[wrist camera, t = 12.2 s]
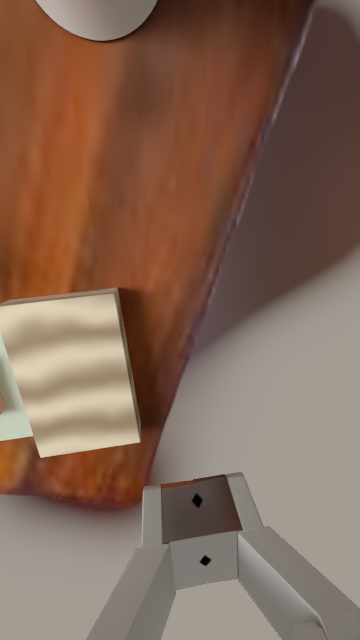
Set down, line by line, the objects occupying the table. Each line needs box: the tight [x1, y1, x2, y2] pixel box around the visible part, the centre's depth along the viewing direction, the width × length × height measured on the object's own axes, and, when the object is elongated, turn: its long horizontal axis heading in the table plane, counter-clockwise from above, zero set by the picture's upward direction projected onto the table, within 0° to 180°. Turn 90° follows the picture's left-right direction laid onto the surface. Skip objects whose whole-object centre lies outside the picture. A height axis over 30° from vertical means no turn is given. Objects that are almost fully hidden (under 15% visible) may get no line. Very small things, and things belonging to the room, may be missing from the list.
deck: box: [0, 287, 141, 458], centre depth 37 cm, size 22×14×4 cm, turn 6°
